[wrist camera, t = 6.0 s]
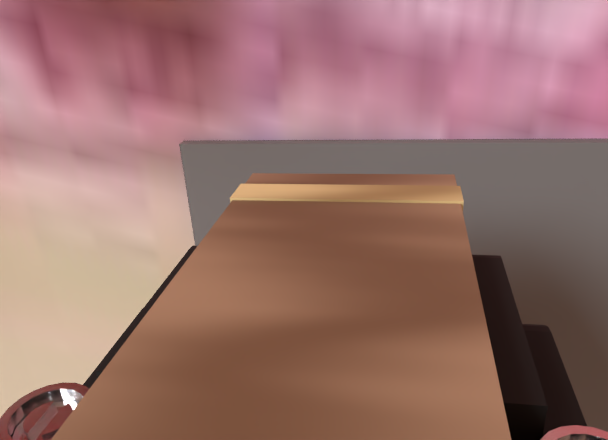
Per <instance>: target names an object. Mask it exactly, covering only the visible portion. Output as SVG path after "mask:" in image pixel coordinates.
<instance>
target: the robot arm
mask: <svg viewBox="0 0 608 440" xmlns="http://www.w3.org/2000/svg"><path fill="white" fill-rule="evenodd" d="M196 248H197V246H192V247H191V248H190V249H189V250H188V252H187V253H186V254H185V255H184V257H183V258H182V259H181V261H180V262H179V263H178V264H177V266H176V267H175V268H174V270H173V271H172V272H171V273H170V275H169V276H168V277H167V279H166V280H165V281H164V282H163V284H162V285H161V286H160V288H159V289H158V290H157V291H156V293H155V294H154V295H153V297H152V298H151V299H150V300H149V302H148V303H147V304H146V306H145V307H144V308H143V309H142V310H141V311H140V313H139V314H138V315H137V316H136V318H135V319H134V320H133V322H132V323H131V324H130V325H129V327H128V328H127V329H126V331H125V332H124V333H123V334H122V336H121V337H120V338H119V339H118V341H117V342H116V343H115V345H114V346H113V347H112V348H111V350H110V351H109V352H108V354H107V355H106V356H105V357H104V359H103V360H102V361H101V363H100V364H99V365H98V366H97V368H96V369H95V370H94V372H93V373H92V374H91V375H90V377H89V378H88V379H87V381H86V382H85V383H84V384H83V385H81V384H77V383H59V384H53V385H48V386H45V387H43V388H40V389H37V390H35V391H33V392H31V393H29V394H27V395H26V396H24V397H22V398H20V399H19V400H18V401H17V402H15V403H14V404H13V405H12V406H10V407H9V408H8V409H7V411H6V412H5V413H4V414H3V416H2V417H1V418H0V440H51V439H52V438H53V436H54V435H55V434H56V432H57V431H58V430H59V428H60V427H61V426H62V424H63V423H64V422H65V420H66V419H67V418H68V417H69V415H70V414H71V413H72V411H73V410H74V409H75V407H76V406H77V405H78V403H79V402H80V401H81V399H82V398H83V397H84V395H85V394H86V393H87V391H88V390H89V389H90V387H91V386H92V385H93V384H94V382H95V381H96V380H97V378H98V377H99V376H100V374H101V373H102V372H103V370H104V369H105V368H106V366H107V365H108V364H109V362H110V361H111V360H112V358H113V357H114V356H115V354H116V353H117V352H118V351H119V349H120V348H121V347H122V345H123V344H124V343H125V341H126V340H127V339H128V337H129V336H130V335H131V333H132V332H133V331H134V329H135V328H136V327H137V325H138V324H139V323H140V321H141V320H142V319H143V318H144V316H145V315H146V314H147V312H148V311H149V310H150V308H151V307H152V306H153V304H154V303H155V302H156V300H157V299H158V298H159V296H160V295H161V294H162V292H163V291H164V290H165V288H166V287H167V286H168V284H169V283H170V282H171V281H172V279H173V278H174V277H175V275H176V274H177V273H178V271H179V270H180V269H181V267H182V266H183V265H184V263H185V262H186V261H187V259H188V258H189V257H190V255H191V254H192V253H193V251H194V250H195V249H196ZM472 258H473V263H474V267H475V272H476V277H477V281H478V286H479V291H480V295H481V300H482V305H483V309H484V314H485V319H486V323H487V328H488V333H489V337H490V342H491V347H492V351H493V356H494V361H495V365H496V370H497V375H498V379H499V384H500V389H501V393H502V398H503V403H504V407H505V412H506V417H507V422H508V426H509V431H510V436H511V440H608V432H606V431H603V430H600V429H597V428H594V427H587V424H586V422H585V419H584V416H583V414H582V411H581V408H580V406H579V403H578V401H577V398H576V395H575V393H574V390H573V388H572V385H571V382H570V380H569V377H568V375H567V372H566V369H565V367H564V364H563V362H562V359H561V356H560V354H559V351H558V348H557V346H556V343H555V341H554V338H553V335H552V333H551V331H550V329H549V327H548V326H546V325H536V324H522V322H521V319H520V315H519V312H518V309H517V306H516V303H515V299H514V296H513V293H512V290H511V286H510V283H509V280H508V277H507V274H506V270H505V267H504V264H503V261H502V258H501V256H499V255H472Z"/></svg>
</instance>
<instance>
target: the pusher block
mask: <svg viewBox="0 0 608 440" xmlns="http://www.w3.org/2000/svg"><path fill="white" fill-rule="evenodd" d="M463 205H464V200H463V196H462V191H461V187H460V186H457V183H456V179H455V174H291V173H253V174H252V175H251V176H250V178H249V179H248V180H247V182H246V183H245V184H240V185H239V187H238V188H237V189H236V190H235V192H234V193H233V194H232V196H231V197H230V204H229V205H228V207H227V208H226V209H225V211H224V212H223V213H222V215H221V216H220V217H219V218H218V220H217V221H216V222H215V224H214V225H213V226H212V228H211V229H210V230H209V232H208V233H207V234H206V236H205V237H204V238H203V240H202V241H201V242H200V244H199V245H198V246H197V248H196V249H195V250H194V251H193V253H192V254H191V255H190V257H189V258H188V259H187V261H186V262H185V263H184V265H183V266H182V267H181V269H180V270H179V271H178V273H177V274H176V275H175V277H174V278H173V279H172V281H171V282H170V283H169V284H168V286H167V287H166V288H165V290H164V291H163V292H162V294H161V295H160V296H159V298H158V299H157V300H156V302H155V303H154V304H153V306H152V307H151V308H150V310H149V311H148V312H147V314H146V315H145V316H144V318H143V319H142V320H141V321H140V323H139V324H138V325H137V327H136V328H135V329H134V331H133V332H132V333H131V335H130V336H129V337H128V339H127V340H126V341H125V343H124V344H123V345H122V347H121V348H120V349H119V351H118V352H117V353H116V354H115V356H114V357H113V358H112V360H111V361H110V362H109V364H108V365H107V366H106V368H105V369H104V370H103V372H102V373H101V374H100V376H99V377H98V378H97V380H96V381H95V382H94V384H93V385H92V386H91V387H90V389H89V390H88V391H87V393H86V394H85V395H84V397H83V398H82V399H81V401H80V402H79V403H78V405H77V406H76V407H75V409H74V410H73V411H72V413H71V414H70V415H69V417H68V418H67V419H66V420H65V422H64V423H63V424H62V426H61V427H60V428H59V430H58V431H57V432H56V434H55V435H54V436H53V438H52V439H51V440H511V436H510V431H509V426H508V422H507V417H506V412H505V407H504V403H503V398H502V393H501V389H500V384H499V379H498V375H497V370H496V365H495V361H494V356H493V351H492V347H491V342H490V337H489V333H488V328H487V323H486V319H485V314H484V309H483V305H482V300H481V295H480V291H479V286H478V281H477V277H476V272H475V267H474V263H473V258H472V253H471V249H470V244H469V239H468V235H467V230H466V225H465V221H464V216H463Z"/></svg>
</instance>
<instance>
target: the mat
mask: <svg viewBox="0 0 608 440" xmlns="http://www.w3.org/2000/svg"><path fill="white" fill-rule="evenodd" d="M179 145H180V151H181V158H182V164H183V170H184V177H185V183H186V189H187V196H188V202H189V208H190V215H191V221H192V227H193V234H194V240H195V246H198V245H199V244H200V242H201V241H202V240H203V238H204V237H205V236H206V234H207V233H208V232H209V230H210V229H211V228H212V226H213V225H214V224H215V222H216V221H217V220H218V218H219V217H220V216H221V215H222V213H223V212H224V211H225V209H226V208H227V207H228V205H229V204H230V197H231V196H232V194H233V193H234V192H235V190H236V189H237V188H238V187H239V185H240V184H245V183H246V182H247V180H248V179H249V178H250V176H251V175H252V174H253V173H291V174H455V179H456V183H457V186H460V187H461V191H462V196H463V200H464V205H463V216H464V221H465V225H466V230H467V235H468V239H469V244H470V249H471V253H472V255H499V256H501V258H502V261H503V264H504V267H505V270H506V274H507V277H508V280H509V283H510V286H511V290H512V293H513V296H514V299H515V303H516V306H517V309H518V312H519V315H520V319H521V322H522V324H536V325H546V326H548V327H549V329H550V331H551V333H552V335H553V338H554V341H555V343H556V346H557V348H558V351H559V354H560V356H561V359H562V362H563V364H564V367H565V369H566V372H567V375H568V377H569V380H570V382H571V385H572V388H573V390H574V393H575V395H576V398H577V401H578V403H579V406H580V408H581V411H582V414H583V416H584V419H585V422H586V424H587V427H594V428H597V429H600V430H603V431H606V432H608V139H457V140H263V141H183V142H182V143H180V144H179Z"/></svg>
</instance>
